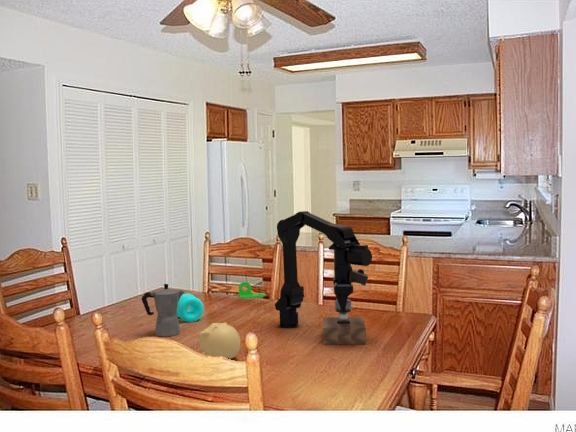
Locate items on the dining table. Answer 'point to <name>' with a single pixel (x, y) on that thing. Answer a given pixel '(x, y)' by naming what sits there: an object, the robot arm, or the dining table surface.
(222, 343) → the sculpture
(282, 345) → the dining table surface
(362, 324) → the block
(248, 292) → the mechanical part
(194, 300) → the donuts
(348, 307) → the steel pin
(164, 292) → the coffeepot
